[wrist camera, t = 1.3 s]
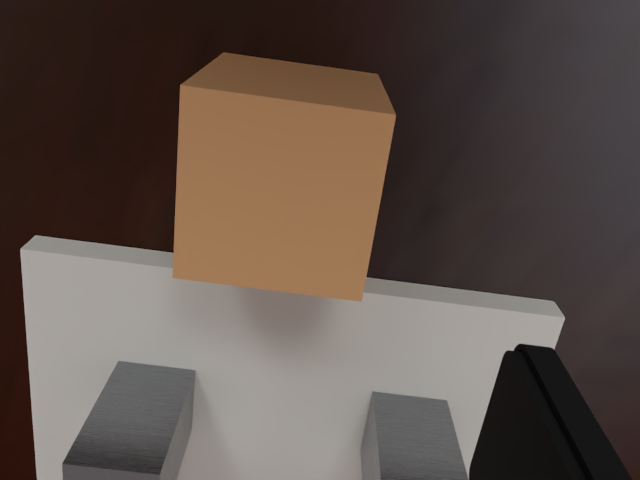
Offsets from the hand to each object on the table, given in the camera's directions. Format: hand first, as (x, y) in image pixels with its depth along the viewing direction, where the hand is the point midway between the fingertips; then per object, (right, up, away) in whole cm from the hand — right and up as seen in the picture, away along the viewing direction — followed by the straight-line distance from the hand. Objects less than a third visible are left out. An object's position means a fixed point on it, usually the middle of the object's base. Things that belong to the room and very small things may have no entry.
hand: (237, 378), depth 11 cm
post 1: (-6, -4, +20) cm, 21 cm away
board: (0, -5, +20) cm, 21 cm away
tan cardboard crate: (0, +7, +15) cm, 16 cm away
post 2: (+5, -6, +20) cm, 22 cm away
